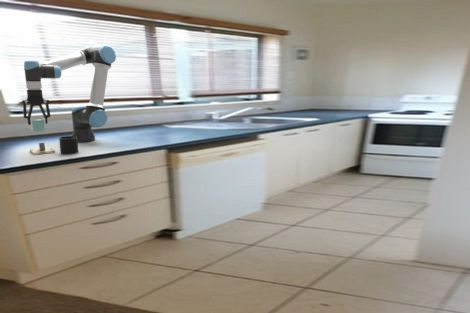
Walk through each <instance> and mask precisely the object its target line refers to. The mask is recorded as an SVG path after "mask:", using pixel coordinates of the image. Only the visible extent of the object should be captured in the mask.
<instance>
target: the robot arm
mask: <svg viewBox="0 0 470 313" xmlns="http://www.w3.org/2000/svg"><path fill="white" fill-rule="evenodd" d="M116 59H117V55H116V52H115V50H114V48H113V47H112V46H111V45H108V44H97V45H94V44H93V45H90V46H86V47H84V48H82V49H78V50H76V51H75V52H73V53H71V54H68V55H64V56H62V57H58V58H55V59H52V60H48V61H46V62H43V63H40V62H39V61H38V60H25V61H24V64H23V67H24V68H23V69H24V77H25V84H26V89H27V90H26V94H27V96H26V99H23V100H21V104H22V106H23V107H22V108H23V109H22V110H23V111H22V113H23V118H25V119H27V124H28V126H29V125H30V131H32V132H34V131H33V125H32V120H33V118H31V117H32V113H33V110H34V109H33V108H34V107H36V106H37V107H39V109H40V111H41V114H42V116H43V117H42V119H43V120H44V128H45V130H44V131H46V130H47V124H48V118H50V117H51V112H50V111H51V110H50V106H49V103H50V100H49V99H45V98H44V97H43V89H42V88H43V87H42V79H49V80H50V79H52V80H53V79H55V80H56V79H60V78H61V76H62V71H65V70H68V69H71V68H73V67H76V66H77V67H78V66H80V65H83V66H85V65H88V64H89V65H90V64H91V65H93V73H92V82H91V88H90V89H91V90H90V95H89V96H90V97H89V102H88V103H87V104H86V106H77V107H72V109H71V118H72V119H71V120H72V128H73V129H72V134H71V136H76V137H77V142H78V143H86V142H88V143H89V142H93V141H95V140H96V136H95V133H94V131H93V129H92V128H102V127H103V126H105V125H106V123H107V122H108V114H107V112H106V108H105V106H104V101H105V94H106V88H107V81H108V80H107V79H108V72H109V69H111V68H112V64H114V62H115V61H116ZM43 102H44V104H45V109H44V107H43ZM27 103H29V109H28V113H27ZM45 110H46V111H45Z"/></svg>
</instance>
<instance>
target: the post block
mask: <svg viewBox="0 0 470 313" xmlns="http://www.w3.org/2000/svg"><path fill="white" fill-rule="evenodd" d="M45 144H46V143H45V142H39V143H38V146H39V148H35V149H34V148H33V149H30V153H31V154H32V155H34V156H37V155H44V154H45V155H46V154H55V153H56V150H55V149H53V148H52V147H46V145H45Z"/></svg>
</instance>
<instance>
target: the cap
mask: <svg viewBox="0 0 470 313" xmlns="http://www.w3.org/2000/svg"><path fill="white" fill-rule="evenodd" d="M32 125H33V131H32V132H42V131H46V130H45V128H44V120H43V118H42V119H38V118H37V119H32Z"/></svg>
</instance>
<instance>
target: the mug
mask: <svg viewBox="0 0 470 313" xmlns="http://www.w3.org/2000/svg"><path fill="white" fill-rule="evenodd" d="M58 140H59V148H60V149H59V151H60V154H61V155H74V154H77V153H79V144H78V143H79V142H77V137H76V136H72V135H67V136H60V137H59V138H58Z"/></svg>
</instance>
